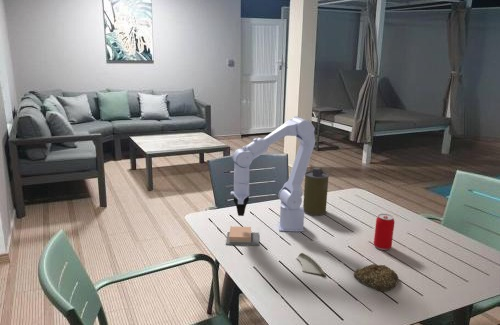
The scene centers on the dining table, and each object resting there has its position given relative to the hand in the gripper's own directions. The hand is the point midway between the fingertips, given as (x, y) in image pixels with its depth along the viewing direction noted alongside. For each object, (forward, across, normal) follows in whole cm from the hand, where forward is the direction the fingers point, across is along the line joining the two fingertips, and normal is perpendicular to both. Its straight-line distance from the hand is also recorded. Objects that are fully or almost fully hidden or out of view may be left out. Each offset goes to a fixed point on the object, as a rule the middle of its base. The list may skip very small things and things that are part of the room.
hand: (240, 215), depth 153 cm
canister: (+8, -24, +32) cm, 41 cm away
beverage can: (+8, +9, +52) cm, 53 cm away
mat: (+7, +5, +1) cm, 9 cm away
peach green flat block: (+6, 0, 0) cm, 6 cm away
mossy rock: (+8, +30, +44) cm, 54 cm away
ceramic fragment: (+8, +24, +24) cm, 35 cm away
